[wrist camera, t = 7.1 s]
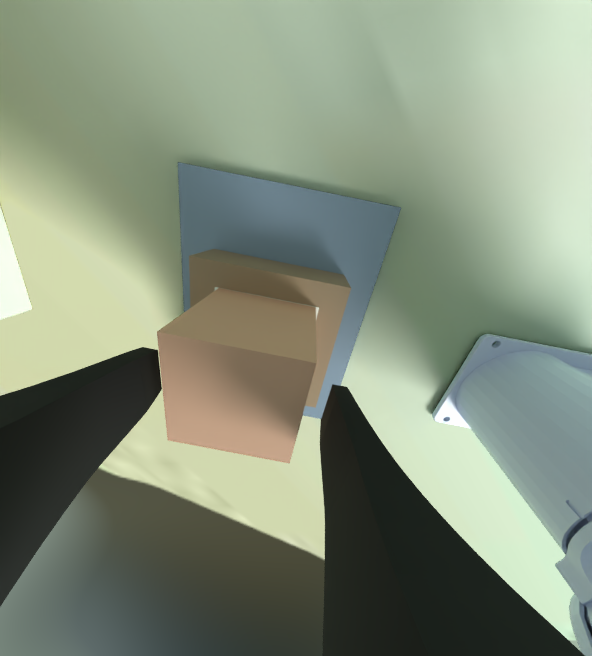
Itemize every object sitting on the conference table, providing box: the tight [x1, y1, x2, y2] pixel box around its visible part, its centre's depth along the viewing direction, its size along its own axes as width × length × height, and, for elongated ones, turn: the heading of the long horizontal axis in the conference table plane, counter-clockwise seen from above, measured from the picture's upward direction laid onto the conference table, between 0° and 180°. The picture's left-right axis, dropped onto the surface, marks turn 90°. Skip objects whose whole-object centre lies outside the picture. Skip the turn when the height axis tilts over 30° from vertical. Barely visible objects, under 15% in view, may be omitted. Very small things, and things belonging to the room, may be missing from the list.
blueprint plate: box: [178, 162, 401, 419], centre depth 14 cm, size 12×16×4 cm
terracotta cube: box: [157, 288, 317, 463], centre depth 10 cm, size 5×5×5 cm
